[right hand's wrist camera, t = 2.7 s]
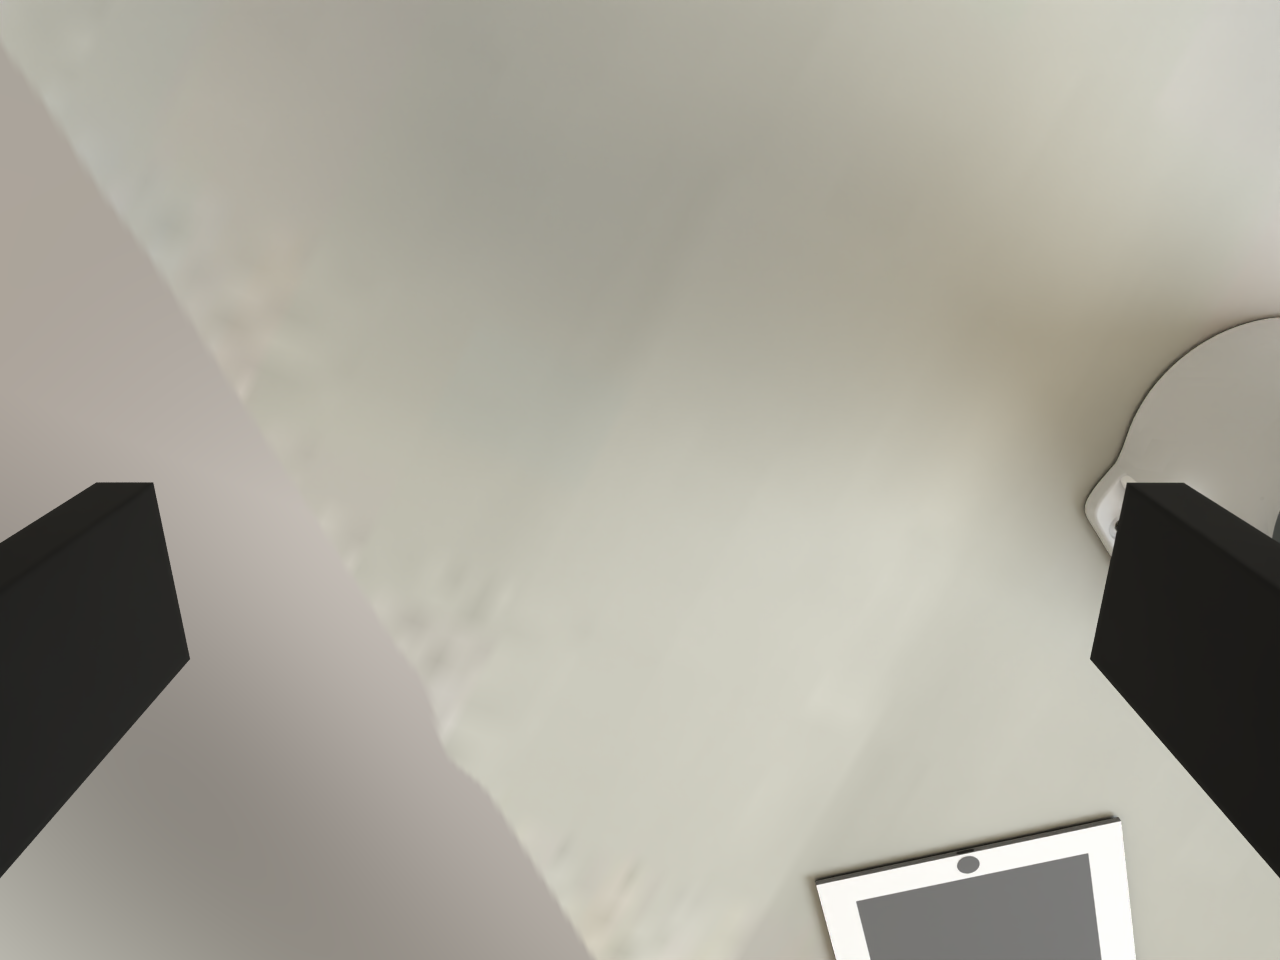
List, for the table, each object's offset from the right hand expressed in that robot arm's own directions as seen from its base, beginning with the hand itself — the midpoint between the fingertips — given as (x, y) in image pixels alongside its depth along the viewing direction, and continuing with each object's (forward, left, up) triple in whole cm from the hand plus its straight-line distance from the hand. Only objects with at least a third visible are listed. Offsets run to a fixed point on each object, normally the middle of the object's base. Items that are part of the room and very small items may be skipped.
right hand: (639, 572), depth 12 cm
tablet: (+54, +26, -36) cm, 69 cm away
